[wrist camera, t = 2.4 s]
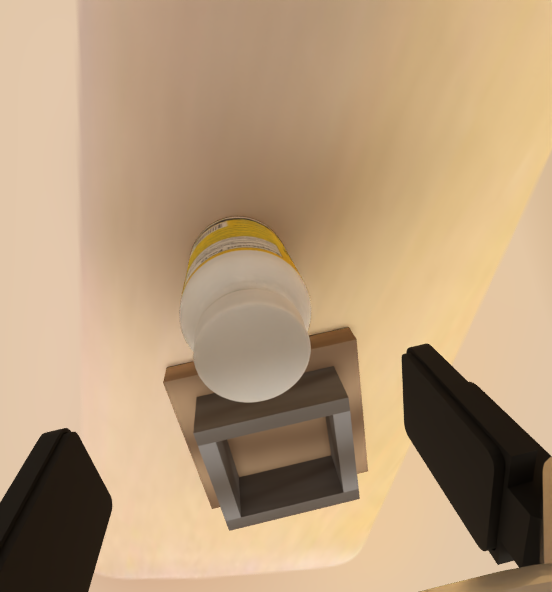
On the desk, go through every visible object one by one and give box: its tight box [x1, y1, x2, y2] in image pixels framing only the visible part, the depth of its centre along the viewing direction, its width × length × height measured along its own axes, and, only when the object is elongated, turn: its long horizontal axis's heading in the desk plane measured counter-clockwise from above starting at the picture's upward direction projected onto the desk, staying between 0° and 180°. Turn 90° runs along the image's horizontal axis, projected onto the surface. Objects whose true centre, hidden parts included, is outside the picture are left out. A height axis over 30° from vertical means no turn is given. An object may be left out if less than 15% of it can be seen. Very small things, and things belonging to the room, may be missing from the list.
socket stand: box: [163, 327, 368, 531], centre depth 24 cm, size 12×12×4 cm
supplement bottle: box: [180, 217, 311, 402], centre depth 17 cm, size 5×5×10 cm
